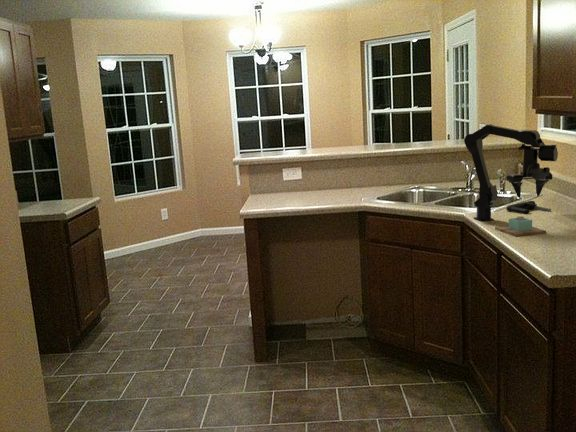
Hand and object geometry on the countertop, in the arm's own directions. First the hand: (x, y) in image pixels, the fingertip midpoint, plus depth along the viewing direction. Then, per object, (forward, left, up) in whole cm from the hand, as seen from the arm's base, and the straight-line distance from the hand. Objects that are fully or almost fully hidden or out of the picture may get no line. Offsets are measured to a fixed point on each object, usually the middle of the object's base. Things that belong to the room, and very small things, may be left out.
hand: (528, 196), depth 252 cm
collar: (+10, -11, -11) cm, 19 cm away
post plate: (+10, -11, -12) cm, 19 cm away
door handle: (-25, +21, -13) cm, 35 cm away
